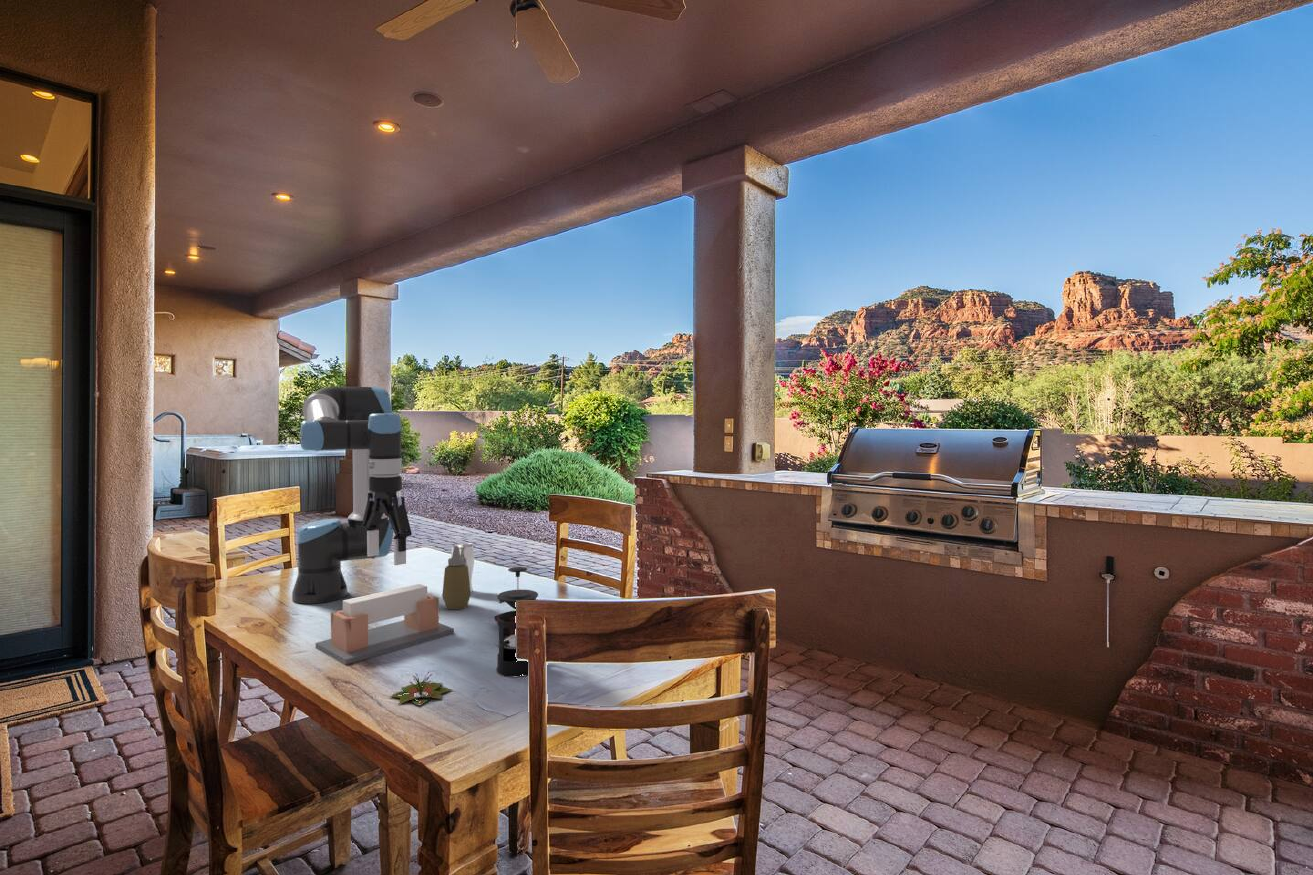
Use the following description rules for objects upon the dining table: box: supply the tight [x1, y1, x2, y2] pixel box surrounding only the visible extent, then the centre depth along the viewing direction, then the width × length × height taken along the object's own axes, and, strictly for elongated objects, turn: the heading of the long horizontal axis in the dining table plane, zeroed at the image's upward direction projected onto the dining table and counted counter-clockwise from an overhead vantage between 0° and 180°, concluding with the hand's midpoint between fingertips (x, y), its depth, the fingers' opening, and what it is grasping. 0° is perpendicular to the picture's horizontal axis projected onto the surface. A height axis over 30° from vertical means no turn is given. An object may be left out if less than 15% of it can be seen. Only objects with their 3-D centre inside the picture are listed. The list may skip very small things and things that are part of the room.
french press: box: [496, 566, 539, 677], centre depth 148 cm, size 12×9×23 cm
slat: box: [342, 583, 428, 625], centre depth 164 cm, size 4×20×6 cm, turn 140°
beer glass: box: [450, 542, 475, 594], centre depth 208 cm, size 7×7×15 cm
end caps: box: [314, 593, 455, 666], centre depth 165 cm, size 16×28×9 cm, turn 140°
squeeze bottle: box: [441, 546, 472, 610], centre depth 192 cm, size 8×8×18 cm
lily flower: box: [387, 670, 452, 706], centre depth 134 cm, size 12×12×5 cm
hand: (386, 559), depth 164 cm, fingers open, 13 cm apart
